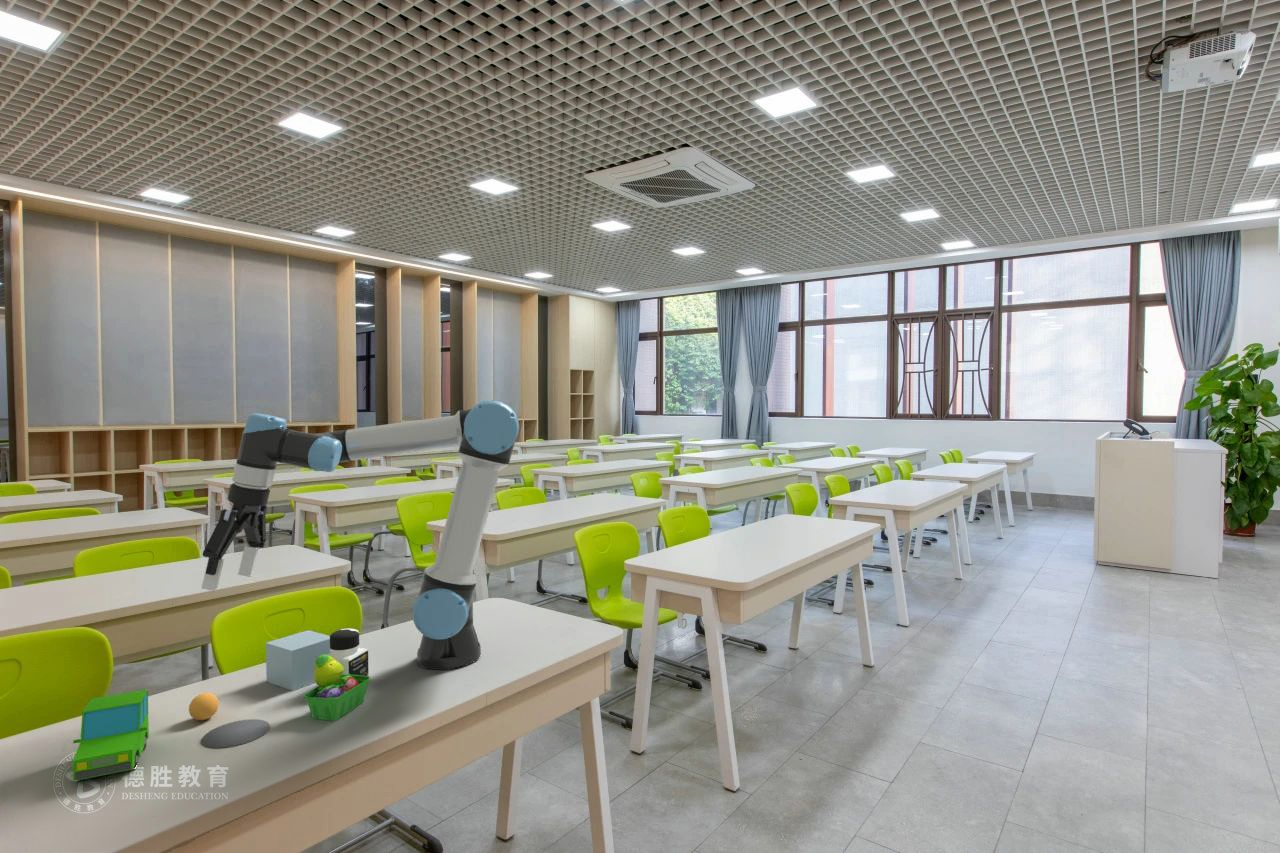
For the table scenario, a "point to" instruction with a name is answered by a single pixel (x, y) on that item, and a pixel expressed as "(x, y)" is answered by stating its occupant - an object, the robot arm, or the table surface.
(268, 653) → the pale blue cube
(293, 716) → the table surface
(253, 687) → the table surface
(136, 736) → the toy car
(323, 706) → the fruit basket
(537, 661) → the table surface
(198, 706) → the ball
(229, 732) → the disc
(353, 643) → the medicine bottle
